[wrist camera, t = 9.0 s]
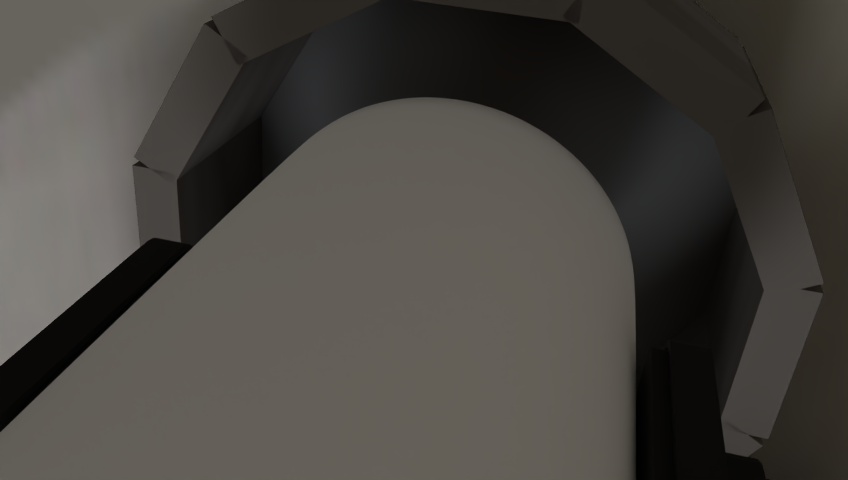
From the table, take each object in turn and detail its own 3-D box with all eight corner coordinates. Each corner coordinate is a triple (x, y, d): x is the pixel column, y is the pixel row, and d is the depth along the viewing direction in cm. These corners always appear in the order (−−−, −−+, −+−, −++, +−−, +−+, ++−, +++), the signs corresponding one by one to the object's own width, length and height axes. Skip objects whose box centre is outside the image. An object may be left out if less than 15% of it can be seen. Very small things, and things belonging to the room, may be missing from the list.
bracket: (1084, -32, 15) (2160, 319, 4) (823, 539, 22) (989, 1194, 11) (94, -146, 18) (-650, -105, 8) (147, 381, 25) (-203, 774, 15)
